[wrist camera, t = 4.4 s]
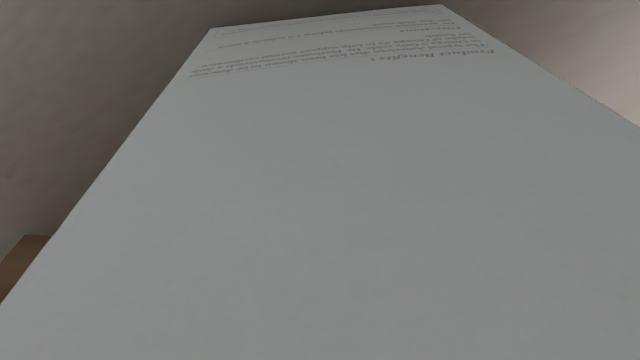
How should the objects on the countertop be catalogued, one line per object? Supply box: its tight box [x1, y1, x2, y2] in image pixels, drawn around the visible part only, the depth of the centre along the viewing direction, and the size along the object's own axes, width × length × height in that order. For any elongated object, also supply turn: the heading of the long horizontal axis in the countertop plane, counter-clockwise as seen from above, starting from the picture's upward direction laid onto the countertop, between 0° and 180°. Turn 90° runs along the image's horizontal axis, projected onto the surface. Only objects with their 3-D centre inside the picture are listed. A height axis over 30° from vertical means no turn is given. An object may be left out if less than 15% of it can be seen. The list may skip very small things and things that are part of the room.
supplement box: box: [0, 4, 640, 360], centre depth 9 cm, size 7×7×13 cm
